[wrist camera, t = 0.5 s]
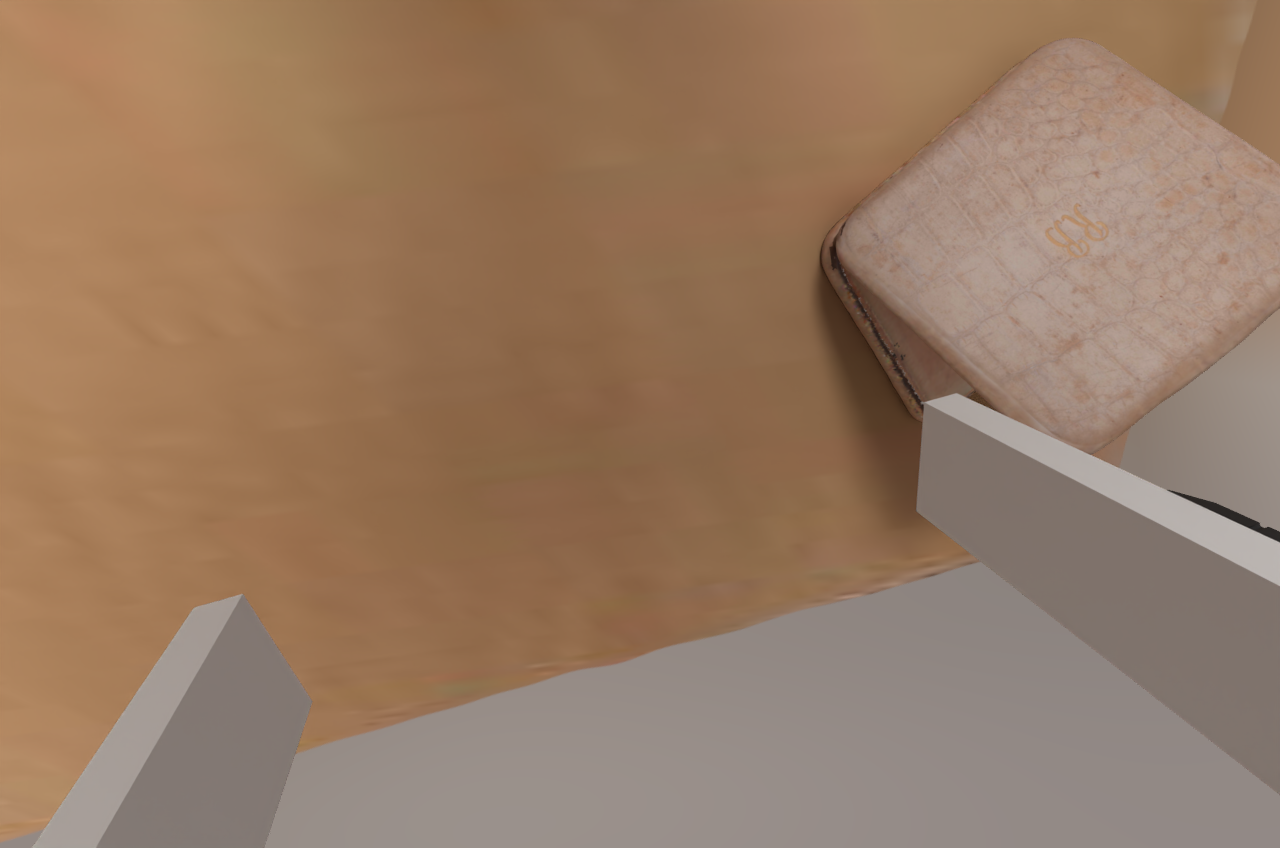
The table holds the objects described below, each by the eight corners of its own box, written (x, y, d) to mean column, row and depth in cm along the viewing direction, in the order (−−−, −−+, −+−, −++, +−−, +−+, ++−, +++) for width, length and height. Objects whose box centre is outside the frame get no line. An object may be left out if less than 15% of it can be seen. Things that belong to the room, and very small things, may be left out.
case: (1036, 29, 37) (1378, -66, 23) (1107, 272, 46) (1380, 314, 32) (797, 236, 39) (975, 269, 24) (913, 430, 48) (1090, 535, 34)
